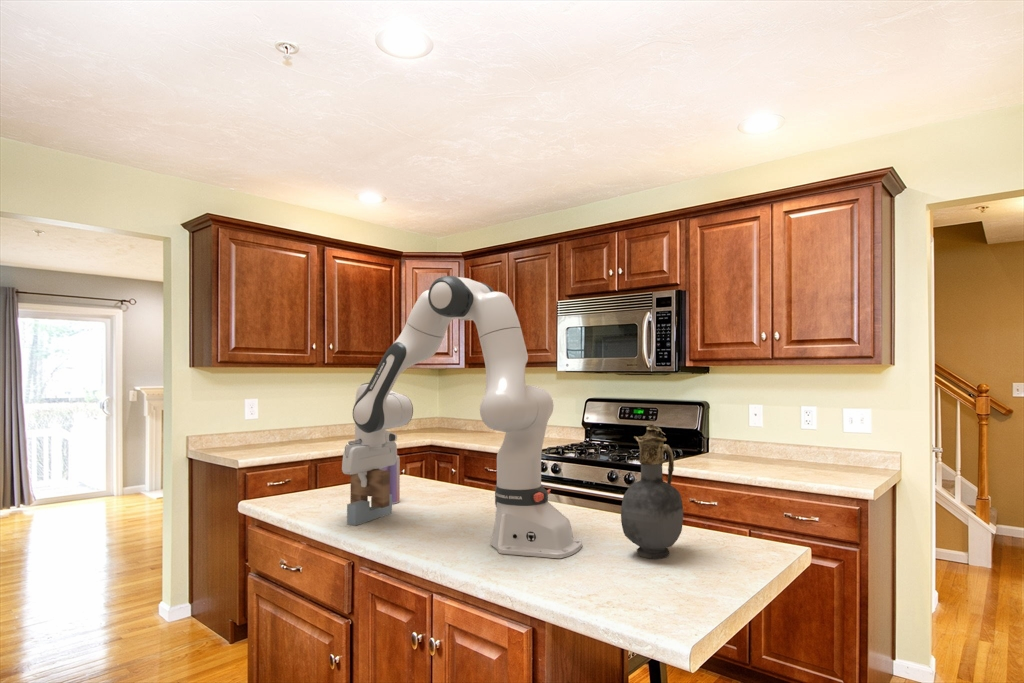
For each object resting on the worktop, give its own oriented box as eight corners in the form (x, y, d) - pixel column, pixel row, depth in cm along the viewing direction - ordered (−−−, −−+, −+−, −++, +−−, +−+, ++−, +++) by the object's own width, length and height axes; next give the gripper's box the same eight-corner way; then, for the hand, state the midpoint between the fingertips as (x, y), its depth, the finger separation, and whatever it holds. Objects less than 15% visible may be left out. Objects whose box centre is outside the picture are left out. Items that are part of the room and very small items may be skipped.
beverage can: (389, 505, 190) (389, 458, 191) (377, 503, 193) (377, 456, 194) (403, 502, 195) (403, 455, 195) (391, 499, 198) (391, 454, 199)
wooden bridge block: (389, 505, 172) (389, 470, 173) (382, 507, 170) (382, 472, 170) (357, 501, 178) (357, 467, 178) (350, 503, 175) (350, 469, 176)
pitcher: (615, 557, 136) (613, 425, 138) (653, 538, 151) (651, 419, 152) (659, 567, 130) (657, 428, 131) (694, 546, 144) (692, 422, 146)
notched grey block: (391, 513, 180) (392, 494, 180) (355, 525, 166) (355, 505, 166) (384, 512, 181) (384, 493, 182) (347, 524, 167) (347, 504, 167)
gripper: (354, 442, 164) (353, 493, 163) (400, 434, 182) (400, 480, 181) (336, 441, 167) (336, 490, 166) (384, 433, 185) (384, 478, 184)
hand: (370, 485), depth 174 cm, fingers closed on wooden bridge block, 3 cm apart
